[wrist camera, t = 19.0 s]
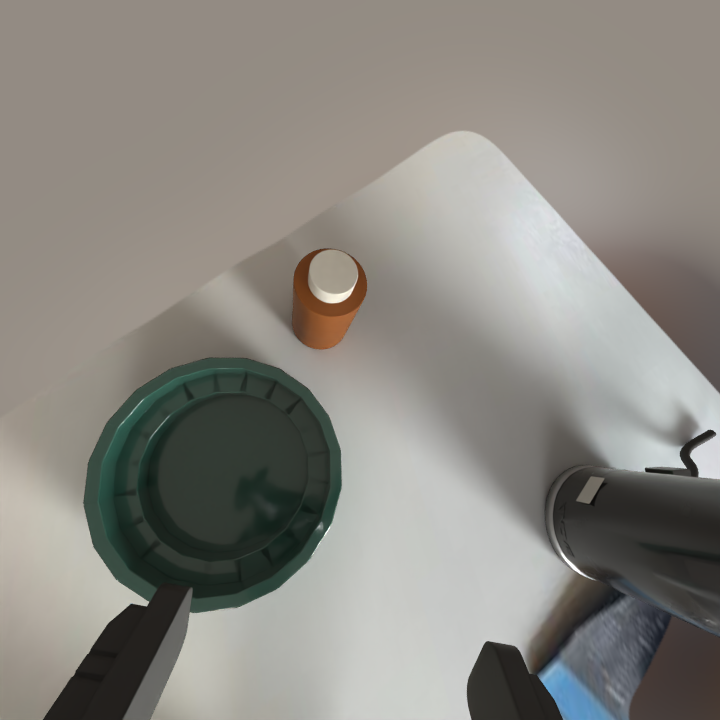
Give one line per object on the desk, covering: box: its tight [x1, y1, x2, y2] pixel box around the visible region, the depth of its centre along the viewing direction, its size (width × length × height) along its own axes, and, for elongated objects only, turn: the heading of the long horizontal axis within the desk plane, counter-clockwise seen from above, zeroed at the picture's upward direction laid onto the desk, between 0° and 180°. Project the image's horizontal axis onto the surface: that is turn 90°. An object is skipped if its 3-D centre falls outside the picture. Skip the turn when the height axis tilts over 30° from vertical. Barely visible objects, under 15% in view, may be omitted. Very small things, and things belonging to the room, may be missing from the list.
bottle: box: [292, 249, 367, 349], centre depth 26 cm, size 5×5×10 cm
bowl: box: [83, 358, 342, 613], centre depth 25 cm, size 16×16×4 cm
